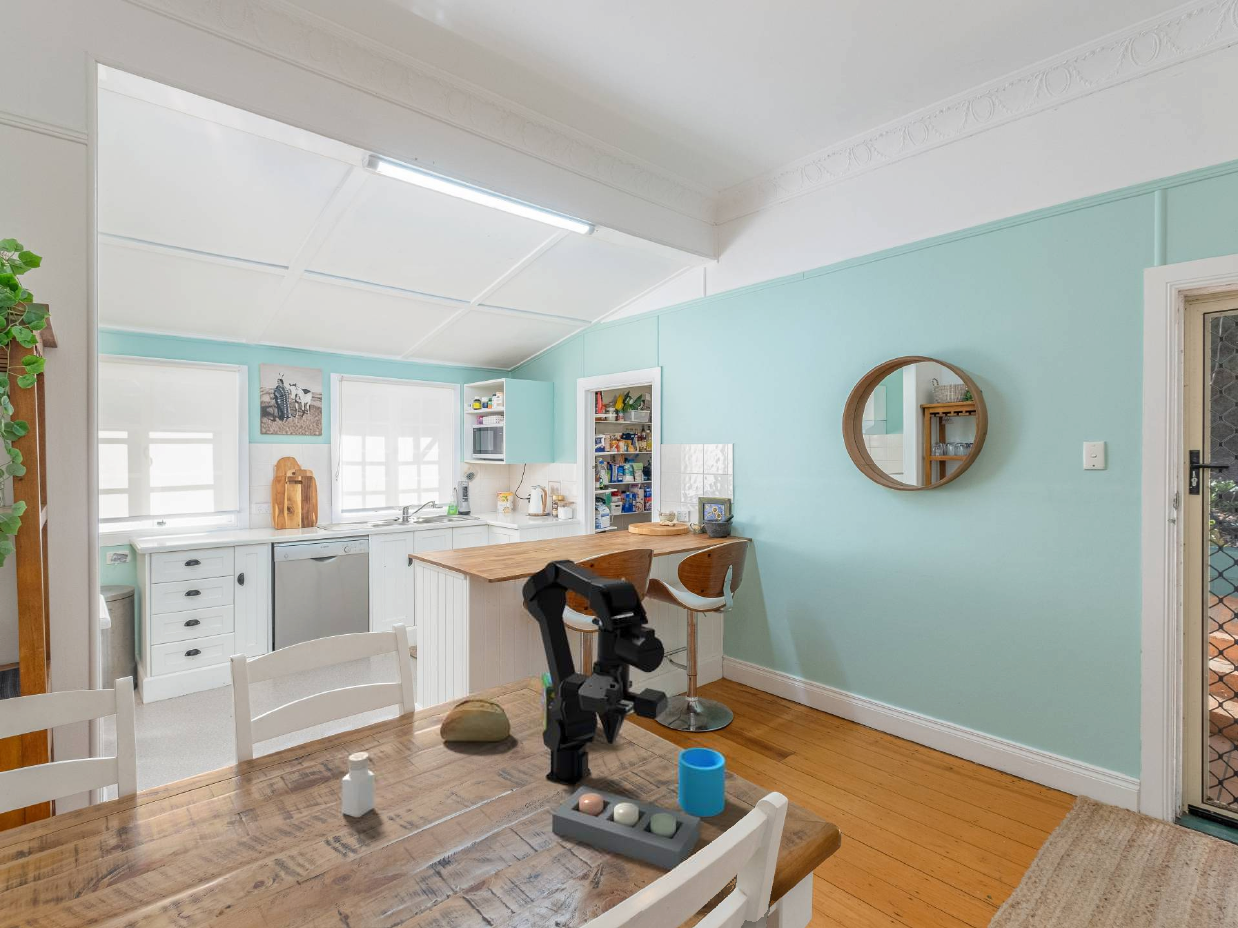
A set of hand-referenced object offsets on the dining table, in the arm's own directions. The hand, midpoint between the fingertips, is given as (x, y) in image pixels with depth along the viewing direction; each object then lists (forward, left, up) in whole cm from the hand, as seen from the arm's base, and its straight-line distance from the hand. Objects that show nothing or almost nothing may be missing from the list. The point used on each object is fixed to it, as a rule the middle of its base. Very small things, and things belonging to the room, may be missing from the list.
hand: (611, 743), depth 109 cm
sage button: (+12, -5, -10) cm, 16 cm away
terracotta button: (-1, -5, -10) cm, 11 cm away
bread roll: (-39, +11, -12) cm, 42 cm away
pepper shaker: (-38, -20, -12) cm, 45 cm away
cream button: (+6, -5, -10) cm, 13 cm away
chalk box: (-24, +25, -12) cm, 37 cm away
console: (+6, -5, -12) cm, 14 cm away
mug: (+13, +11, -12) cm, 20 cm away
